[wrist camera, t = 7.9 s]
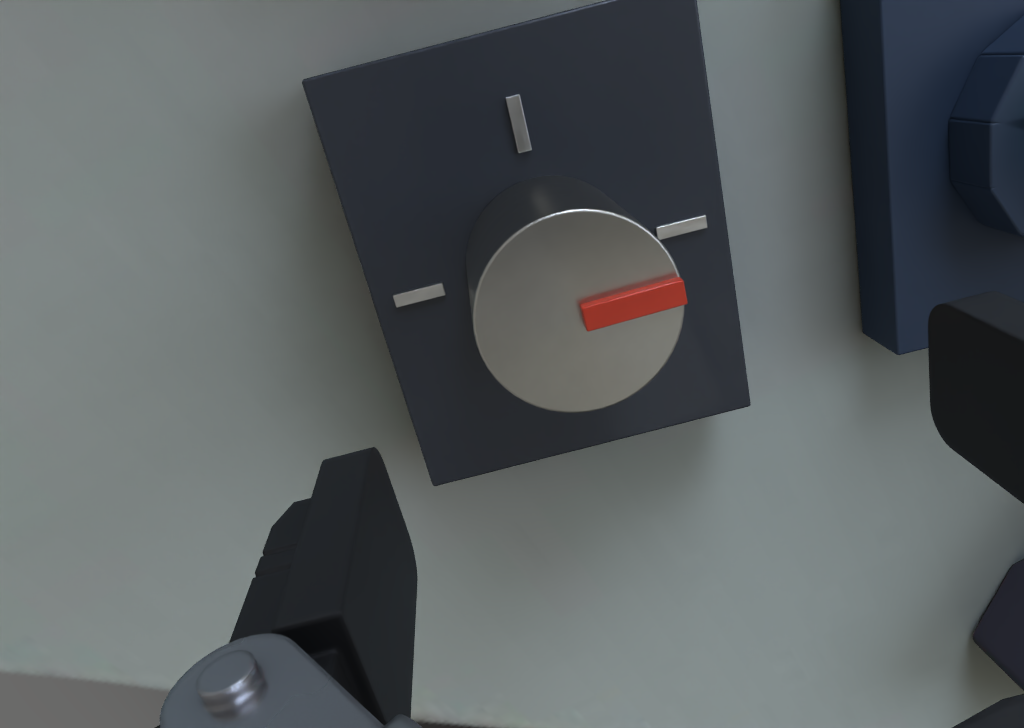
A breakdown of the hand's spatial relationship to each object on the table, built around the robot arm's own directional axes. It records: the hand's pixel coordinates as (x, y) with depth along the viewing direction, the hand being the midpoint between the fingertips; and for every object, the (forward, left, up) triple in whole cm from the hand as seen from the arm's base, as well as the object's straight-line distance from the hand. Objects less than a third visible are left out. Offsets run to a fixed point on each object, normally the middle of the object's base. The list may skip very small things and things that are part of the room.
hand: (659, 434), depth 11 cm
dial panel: (0, 0, -14) cm, 14 cm away
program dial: (0, 0, -11) cm, 11 cm away
